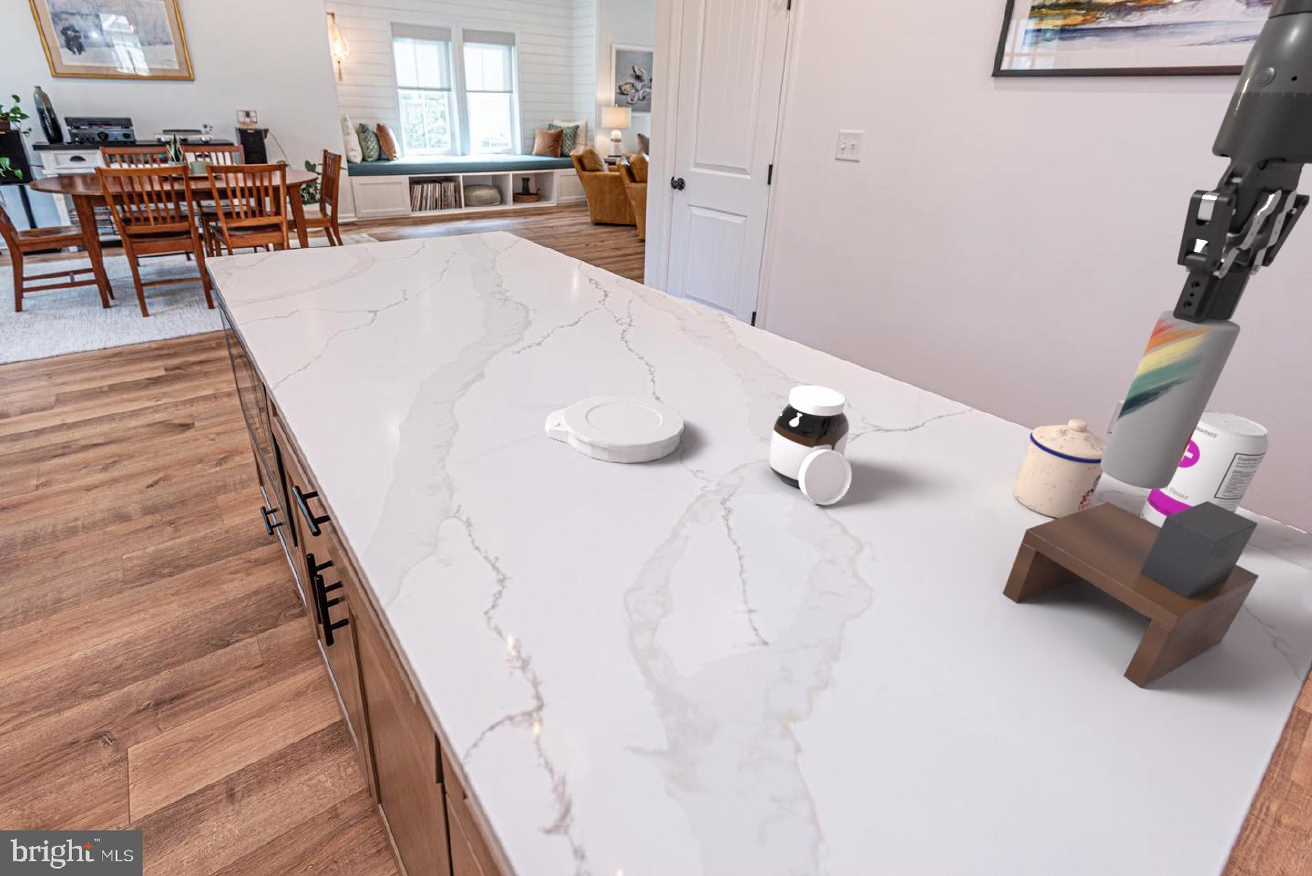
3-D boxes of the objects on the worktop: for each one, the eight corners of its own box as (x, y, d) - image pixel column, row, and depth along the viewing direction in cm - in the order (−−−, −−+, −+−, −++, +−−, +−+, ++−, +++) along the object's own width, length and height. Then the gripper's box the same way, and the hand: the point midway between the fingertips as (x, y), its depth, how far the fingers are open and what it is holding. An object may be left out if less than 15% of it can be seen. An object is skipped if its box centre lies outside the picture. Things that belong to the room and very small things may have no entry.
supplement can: (1146, 540, 82) (1198, 427, 75) (1131, 508, 89) (1178, 402, 82) (1226, 558, 79) (1287, 444, 73) (1204, 524, 86) (1258, 416, 80)
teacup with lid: (1092, 529, 83) (1128, 444, 78) (1011, 509, 86) (1040, 426, 81) (1080, 486, 93) (1111, 409, 88) (1008, 470, 96) (1034, 394, 91)
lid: (566, 402, 107) (566, 385, 105) (691, 421, 104) (693, 403, 102) (525, 450, 91) (525, 430, 90) (670, 473, 88) (672, 453, 87)
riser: (1082, 561, 77) (1108, 501, 73) (1221, 642, 66) (1259, 575, 62) (1002, 593, 70) (1026, 529, 67) (1141, 688, 59) (1178, 617, 56)
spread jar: (800, 454, 96) (814, 377, 91) (871, 486, 89) (891, 405, 84) (747, 480, 88) (759, 397, 83) (821, 517, 81) (839, 429, 76)
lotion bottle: (1158, 469, 65) (1251, 259, 57) (1178, 496, 61) (1283, 271, 52) (1092, 456, 67) (1173, 250, 58) (1106, 482, 62) (1197, 261, 53)
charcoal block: (1180, 554, 64) (1207, 500, 62) (1228, 578, 61) (1258, 523, 59) (1139, 572, 61) (1166, 516, 59) (1187, 599, 58) (1217, 541, 56)
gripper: (1319, 83, 44) (1207, 340, 51) (1403, 98, 50) (1293, 324, 57) (1192, 83, 49) (1108, 313, 57) (1282, 96, 56) (1196, 302, 63)
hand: (1201, 317), depth 57 cm, fingers closed on lotion bottle, 4 cm apart
